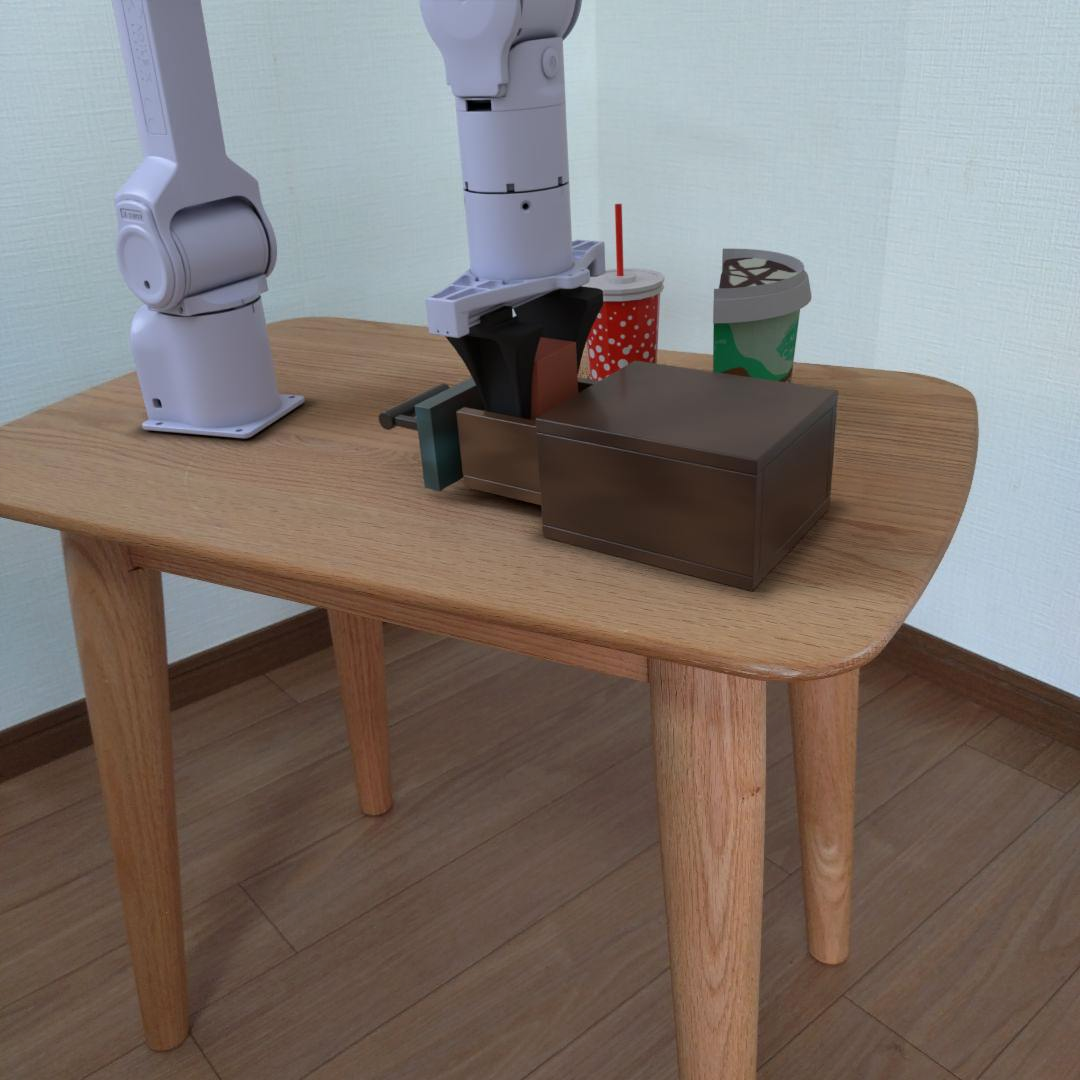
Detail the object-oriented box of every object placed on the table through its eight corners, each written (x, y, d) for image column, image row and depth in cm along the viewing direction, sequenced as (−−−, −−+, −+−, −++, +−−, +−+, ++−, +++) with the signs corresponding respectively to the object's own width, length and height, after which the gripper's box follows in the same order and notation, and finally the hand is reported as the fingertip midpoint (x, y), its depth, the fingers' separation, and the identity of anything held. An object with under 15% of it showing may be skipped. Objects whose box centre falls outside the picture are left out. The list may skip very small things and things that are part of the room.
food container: (806, 443, 67) (816, 290, 63) (711, 441, 69) (713, 291, 64) (803, 380, 78) (811, 245, 73) (720, 379, 79) (722, 246, 75)
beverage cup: (668, 412, 74) (666, 209, 67) (582, 416, 74) (572, 215, 68) (662, 384, 79) (660, 193, 73) (582, 387, 80) (573, 199, 73)
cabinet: (542, 537, 58) (534, 418, 55) (636, 468, 66) (634, 360, 62) (752, 591, 51) (757, 460, 48) (830, 508, 59) (838, 389, 56)
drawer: (366, 473, 65) (353, 393, 63) (458, 423, 72) (450, 349, 70) (585, 527, 57) (581, 437, 54) (667, 465, 63) (666, 383, 61)
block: (488, 449, 62) (479, 353, 59) (527, 427, 65) (520, 334, 62) (543, 461, 60) (537, 361, 57) (580, 438, 63) (576, 341, 60)
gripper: (495, 214, 48) (516, 479, 55) (647, 165, 59) (651, 393, 65) (382, 206, 52) (415, 456, 58) (544, 162, 62) (557, 378, 69)
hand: (532, 422), depth 62 cm, fingers closed on block, 4 cm apart
